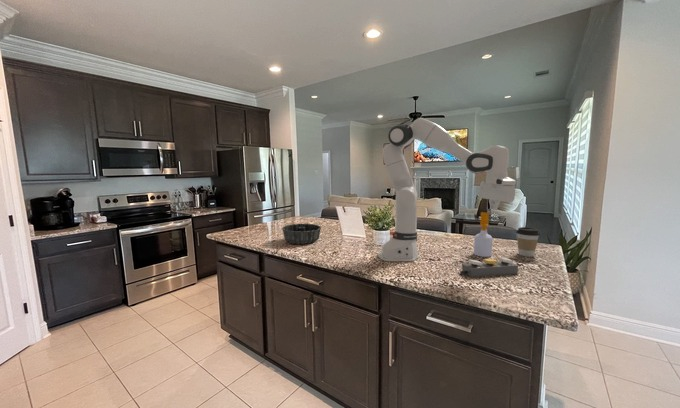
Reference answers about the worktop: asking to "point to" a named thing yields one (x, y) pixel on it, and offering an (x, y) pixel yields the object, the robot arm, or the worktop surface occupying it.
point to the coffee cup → (527, 241)
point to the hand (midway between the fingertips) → (493, 209)
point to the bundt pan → (301, 233)
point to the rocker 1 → (475, 262)
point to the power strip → (489, 269)
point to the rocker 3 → (505, 260)
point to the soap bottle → (483, 238)
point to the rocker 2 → (490, 261)
